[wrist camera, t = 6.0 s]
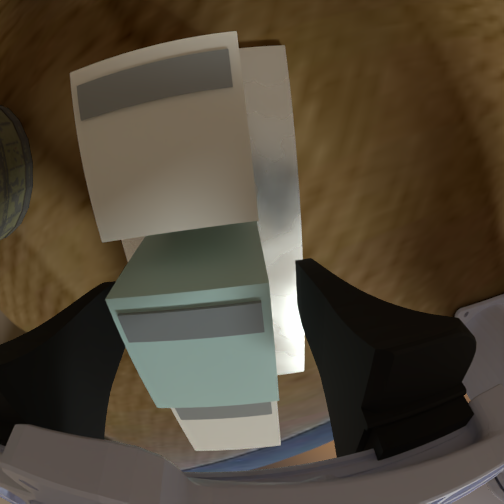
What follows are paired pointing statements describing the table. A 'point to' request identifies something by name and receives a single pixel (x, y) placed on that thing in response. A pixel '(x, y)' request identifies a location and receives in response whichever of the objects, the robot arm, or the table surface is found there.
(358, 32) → the table surface
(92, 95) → the mounted modules
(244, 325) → the block
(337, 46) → the table surface
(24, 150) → the thermos
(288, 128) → the rail panel
